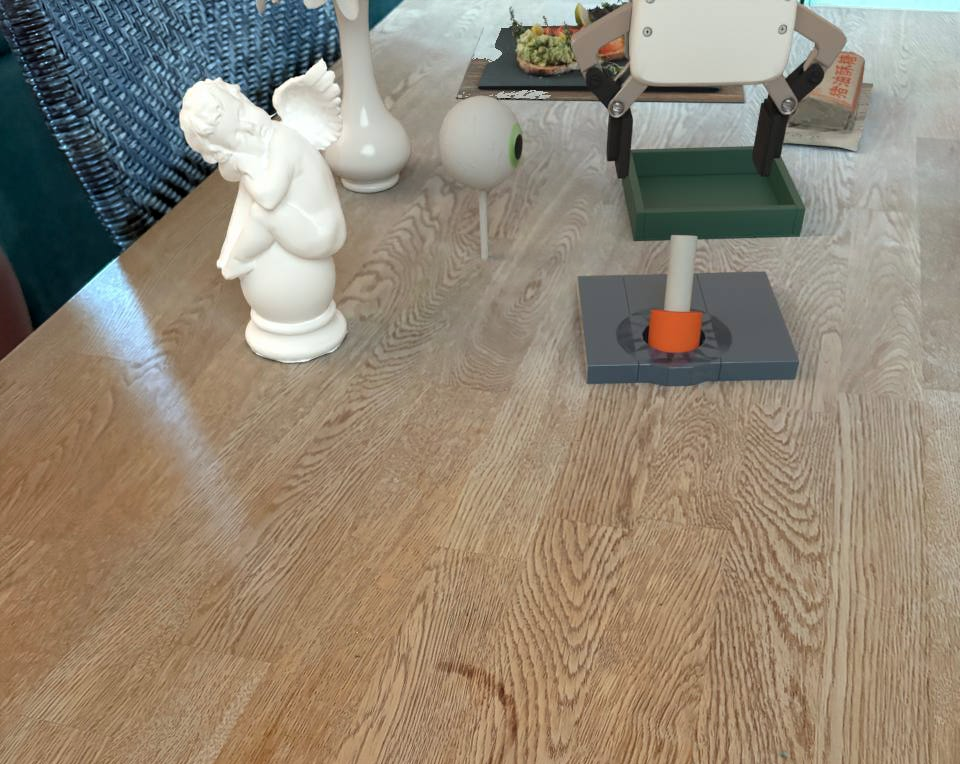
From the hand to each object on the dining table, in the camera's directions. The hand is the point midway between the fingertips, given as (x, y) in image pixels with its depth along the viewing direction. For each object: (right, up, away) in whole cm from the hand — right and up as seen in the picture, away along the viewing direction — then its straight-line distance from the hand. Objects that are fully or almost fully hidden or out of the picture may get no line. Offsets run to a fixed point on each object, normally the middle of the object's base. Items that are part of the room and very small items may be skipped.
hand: (690, 169), depth 71 cm
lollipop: (-14, +1, +24) cm, 28 cm away
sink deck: (+2, -9, +14) cm, 16 cm away
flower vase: (-27, +16, +38) cm, 49 cm away
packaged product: (+24, +27, +46) cm, 58 cm away
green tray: (+8, +11, +31) cm, 34 cm away
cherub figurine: (-29, -5, +18) cm, 35 cm away
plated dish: (+1, +42, +61) cm, 74 cm away
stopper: (+1, -10, +10) cm, 14 cm away
